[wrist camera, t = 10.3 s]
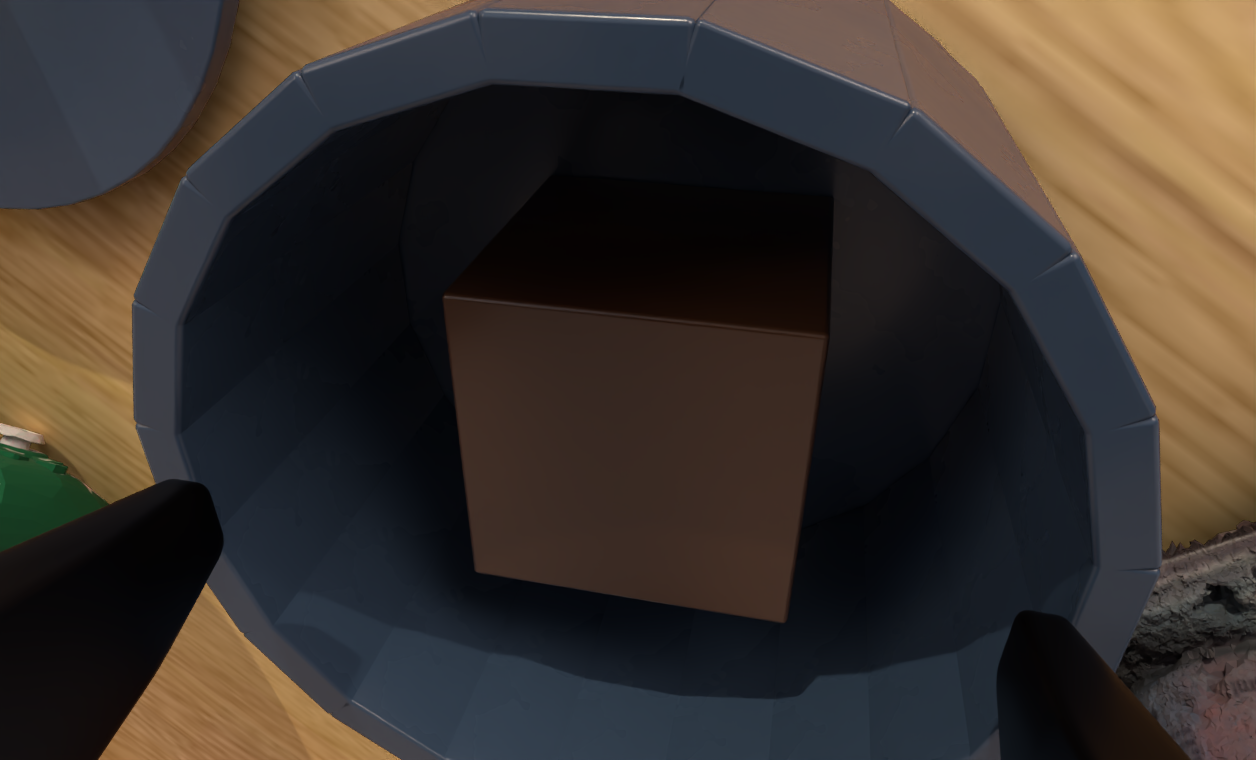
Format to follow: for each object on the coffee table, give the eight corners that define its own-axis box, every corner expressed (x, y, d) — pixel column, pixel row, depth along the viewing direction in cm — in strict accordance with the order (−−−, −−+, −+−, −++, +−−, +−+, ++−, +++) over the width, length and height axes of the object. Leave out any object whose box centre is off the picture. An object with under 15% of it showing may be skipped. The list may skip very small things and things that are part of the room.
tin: (1132, -47, 11) (1406, 48, 6) (952, 586, 17) (1001, 924, 12) (332, -69, 13) (-28, -13, 8) (421, 504, 19) (253, 761, 13)
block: (834, 196, 13) (830, 335, 9) (800, 437, 15) (786, 627, 12) (549, 173, 14) (439, 293, 10) (559, 406, 16) (473, 574, 12)
